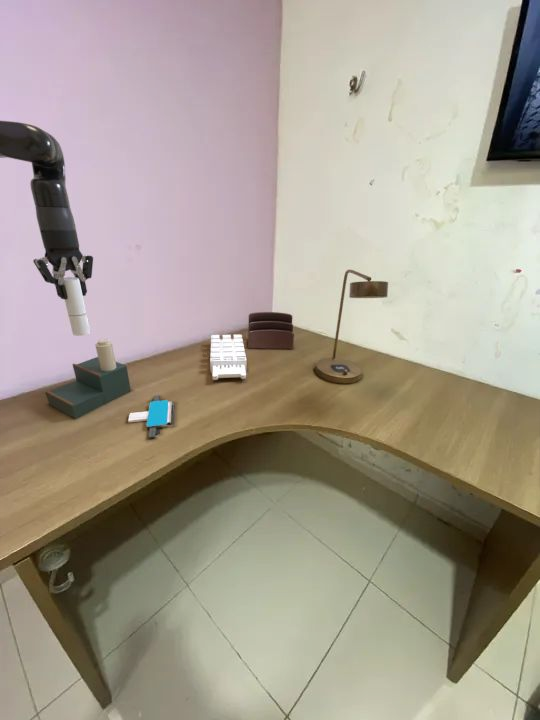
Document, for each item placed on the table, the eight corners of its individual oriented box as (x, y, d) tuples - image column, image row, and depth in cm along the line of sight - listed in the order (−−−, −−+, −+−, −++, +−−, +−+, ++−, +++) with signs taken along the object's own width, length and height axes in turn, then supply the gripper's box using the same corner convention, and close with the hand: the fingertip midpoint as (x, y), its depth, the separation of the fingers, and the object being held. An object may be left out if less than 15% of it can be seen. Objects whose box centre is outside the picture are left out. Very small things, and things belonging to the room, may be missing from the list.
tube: (92, 333, 87) (81, 279, 81) (75, 336, 84) (62, 281, 78) (87, 329, 90) (76, 276, 83) (70, 332, 87) (57, 278, 81)
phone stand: (134, 399, 95) (133, 395, 94) (174, 396, 98) (174, 391, 97) (123, 442, 77) (122, 437, 77) (173, 436, 80) (172, 431, 80)
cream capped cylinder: (97, 368, 93) (91, 341, 89) (110, 363, 97) (105, 336, 93) (106, 372, 91) (100, 344, 87) (119, 367, 95) (114, 339, 91)
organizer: (241, 334, 137) (248, 370, 105) (241, 344, 139) (248, 383, 107) (211, 334, 135) (209, 371, 103) (211, 345, 137) (210, 384, 105)
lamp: (332, 400, 100) (350, 280, 83) (310, 363, 124) (321, 265, 108) (381, 398, 102) (408, 281, 86) (351, 362, 126) (367, 266, 110)
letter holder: (248, 340, 144) (248, 310, 138) (290, 341, 145) (292, 312, 139) (247, 348, 135) (248, 317, 129) (293, 349, 136) (295, 318, 130)
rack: (49, 404, 91) (40, 375, 87) (105, 379, 105) (99, 354, 101) (75, 418, 85) (67, 388, 81) (130, 390, 100) (126, 364, 95)
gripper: (78, 226, 83) (90, 290, 90) (16, 226, 71) (36, 299, 79) (95, 228, 79) (106, 294, 87) (33, 228, 68) (52, 304, 75)
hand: (73, 296), depth 83 cm, fingers closed on tube, 4 cm apart
